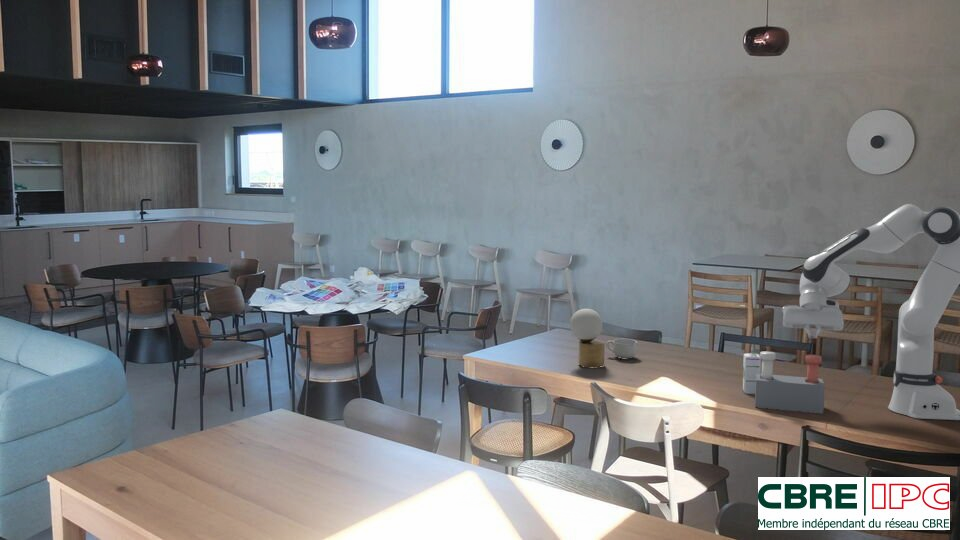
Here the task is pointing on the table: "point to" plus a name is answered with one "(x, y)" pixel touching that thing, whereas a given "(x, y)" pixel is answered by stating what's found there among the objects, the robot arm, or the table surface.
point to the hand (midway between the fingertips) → (812, 337)
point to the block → (789, 394)
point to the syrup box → (750, 372)
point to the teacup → (623, 347)
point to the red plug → (812, 367)
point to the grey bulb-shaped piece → (767, 364)
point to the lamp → (588, 337)
